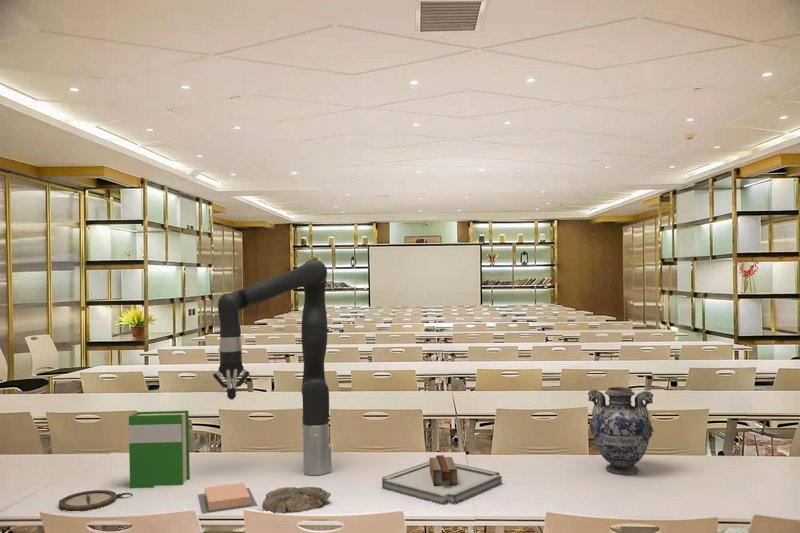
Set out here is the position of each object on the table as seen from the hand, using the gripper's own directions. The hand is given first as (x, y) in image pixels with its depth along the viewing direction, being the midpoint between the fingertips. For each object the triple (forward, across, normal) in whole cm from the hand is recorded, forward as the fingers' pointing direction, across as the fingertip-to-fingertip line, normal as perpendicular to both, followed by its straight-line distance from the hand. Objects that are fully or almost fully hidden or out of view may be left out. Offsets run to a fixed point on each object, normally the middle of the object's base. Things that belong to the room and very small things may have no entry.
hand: (231, 399), depth 229 cm
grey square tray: (+28, +62, -40) cm, 79 cm away
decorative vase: (+27, +124, -53) cm, 138 cm away
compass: (+28, -44, -9) cm, 53 cm away
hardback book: (+27, -24, +2) cm, 36 cm away
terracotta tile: (+25, -5, -21) cm, 33 cm away
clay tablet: (+28, +15, -39) cm, 50 cm away
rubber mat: (+27, -5, -27) cm, 39 cm away
